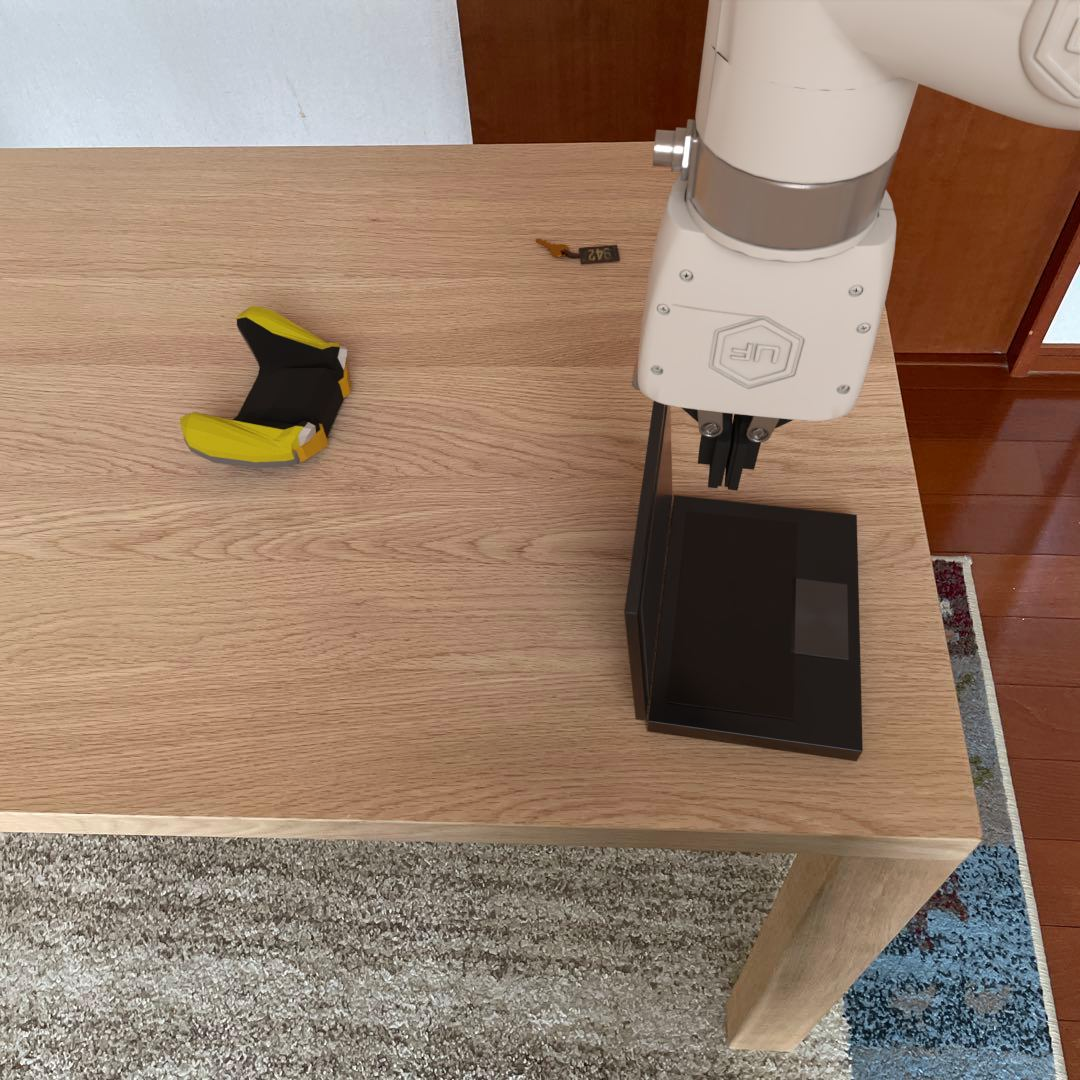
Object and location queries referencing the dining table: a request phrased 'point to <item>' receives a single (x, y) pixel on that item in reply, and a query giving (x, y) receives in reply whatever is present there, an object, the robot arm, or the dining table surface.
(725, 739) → the laptop
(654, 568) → the screen
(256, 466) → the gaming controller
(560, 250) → the key tag
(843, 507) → the dining table surface
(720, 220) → the robot arm
